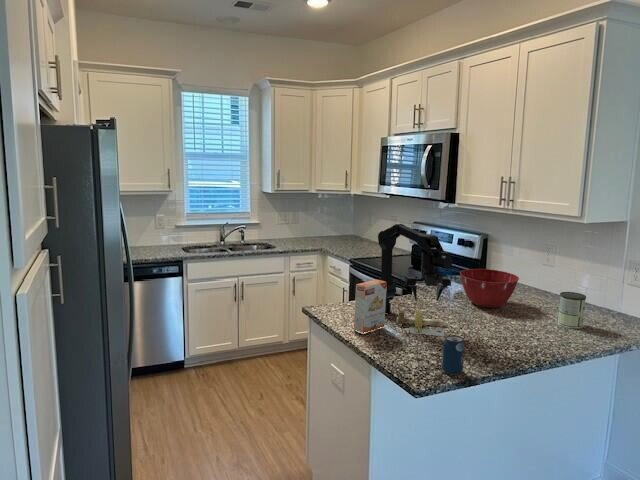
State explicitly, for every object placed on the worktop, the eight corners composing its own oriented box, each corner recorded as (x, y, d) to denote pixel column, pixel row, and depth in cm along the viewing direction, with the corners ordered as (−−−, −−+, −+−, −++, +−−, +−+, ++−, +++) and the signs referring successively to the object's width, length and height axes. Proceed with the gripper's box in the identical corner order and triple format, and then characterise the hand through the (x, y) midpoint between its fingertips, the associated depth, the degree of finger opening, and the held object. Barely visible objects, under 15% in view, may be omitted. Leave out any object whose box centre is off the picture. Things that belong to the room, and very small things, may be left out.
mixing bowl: (517, 315, 222) (520, 284, 220) (456, 308, 232) (458, 278, 229) (515, 300, 248) (517, 271, 246) (459, 294, 258) (461, 266, 256)
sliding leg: (415, 331, 197) (415, 315, 196) (414, 323, 207) (415, 308, 206) (422, 332, 196) (423, 316, 195) (421, 323, 207) (422, 308, 206)
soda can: (465, 375, 156) (468, 341, 154) (445, 376, 155) (448, 342, 153) (457, 367, 163) (460, 334, 161) (438, 367, 162) (440, 334, 160)
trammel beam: (395, 329, 199) (396, 316, 198) (396, 321, 210) (397, 308, 209) (443, 333, 196) (444, 319, 195) (442, 325, 206) (443, 312, 205)
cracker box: (364, 336, 191) (365, 286, 188) (353, 332, 195) (354, 283, 192) (385, 328, 200) (387, 281, 197) (374, 325, 205) (376, 278, 201)
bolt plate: (395, 332, 195) (395, 331, 195) (396, 327, 202) (396, 326, 202) (444, 337, 192) (444, 335, 192) (443, 331, 198) (443, 329, 198)
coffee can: (555, 319, 216) (558, 290, 214) (580, 322, 213) (583, 292, 211) (558, 326, 207) (562, 296, 205) (584, 330, 204) (588, 298, 201)
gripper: (410, 268, 189) (408, 305, 191) (456, 269, 189) (453, 306, 191) (405, 263, 200) (403, 298, 202) (448, 263, 200) (446, 298, 202)
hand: (426, 300), depth 199 cm, fingers open, 9 cm apart
